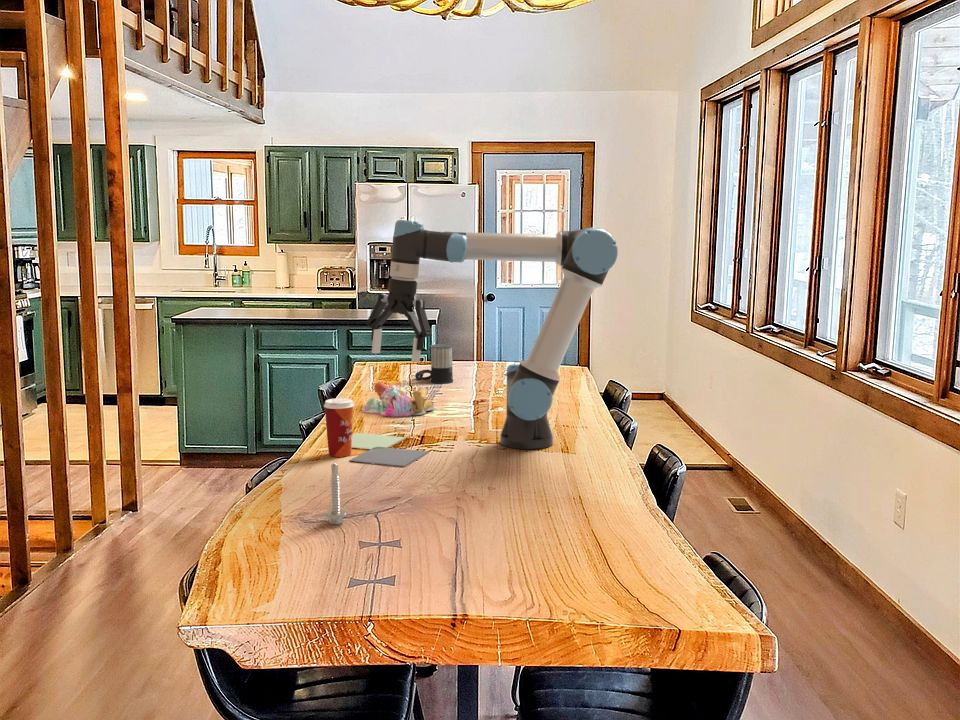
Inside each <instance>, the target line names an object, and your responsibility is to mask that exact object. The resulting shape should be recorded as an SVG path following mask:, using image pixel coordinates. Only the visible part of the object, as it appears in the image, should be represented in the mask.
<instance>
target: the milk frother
mask: <svg viewBox="0 0 960 720" xmlns="http://www.w3.org/2000/svg"><path fill="white" fill-rule="evenodd" d="M429 346H430V364H431V365H430V366H431V367H430V368H431V369H422V370H420V371H418V372H415V375H414V377H415V379H417V380H421V381H427V380H430V381H429V382H430V383H432V384H442V385H444V384H451V383H453V382H454V378H453V377H454V376H453V374H454V373H453V347H454V345H453V344H450V343H447V344H446V343H434V344H431V345H429ZM424 374H430V375H428V376H424Z"/></svg>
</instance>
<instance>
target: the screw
mask: <svg viewBox="0 0 960 720" xmlns="http://www.w3.org/2000/svg"><path fill="white" fill-rule="evenodd" d="M338 466H339V464H337V463H335V462H333V463H332V464H331V466H330V467H331V474H330V476H331V477H330V479H331V480H330V487H331V488H330V490H331V491H330V492H331V493H330V495H331V497H330V498H331V499H330V501H331V502H330V503H331V504H330V506H331V507H330V509H327V510H326V511H324V512H323V516H324V517H325V518H326V519H327V518H328V519H329V523H330V525H336V526H337V525H341V524H343V518H344V517H346V516H348V511H346V510H345V509H343V508H341V503H340V499H341V498H340V496H341V495H340V493H341V492H340V475H339V467H338Z"/></svg>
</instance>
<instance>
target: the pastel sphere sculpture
mask: <svg viewBox="0 0 960 720" xmlns="http://www.w3.org/2000/svg"><path fill="white" fill-rule="evenodd" d="M374 392H375V393H376V394H377V396H378V397H379V399H377V398H376V397H374V396H373V397H371V398H369V399H368V400H367V402H366V403H365V404H364V403H363V404H364V406H363V407H362V408H361V411H362V412H363V413H364V414H370V415H380V416H383V417H391V418H392V417H400V418H402V417H408V416H419V415H424V414H426V413H427V412H428V411H433V410H435V406H434V401H432V399H429V398H427V396H428V392H429V391H428V389H426V388H425V387H420V386H419V387H418V389H417V390H416V389H413V391H412V395H413V396H411V397H410V393H409V392H408V390H406V389H405V388H404V387H400V385H399V384H397V385H396V384H391V385H390V386H389V387H388V386H387V385H386V384H385V382H383V381H378V382H376V383H375V384H374ZM379 400H380V401H379Z"/></svg>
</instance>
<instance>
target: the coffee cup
mask: <svg viewBox="0 0 960 720" xmlns="http://www.w3.org/2000/svg"><path fill="white" fill-rule="evenodd" d="M354 407H355V404H354V401H353V400H352V399H351V398H345V397H343V398H341V397H339V398H338V397H337V398H330V399H325V401H324V404H323V408H324V415H325V425H326V427H325V428H326V438H327V449H328V456H329V455H330V457H331V456H336V457H335V458H341V457H340V456H346V457H348V456H347V455H350V454H351V455H352V448H351V446H352V435H353V422H354V421H353V419H354V418H353V415H354ZM351 455H350V456H351Z"/></svg>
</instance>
